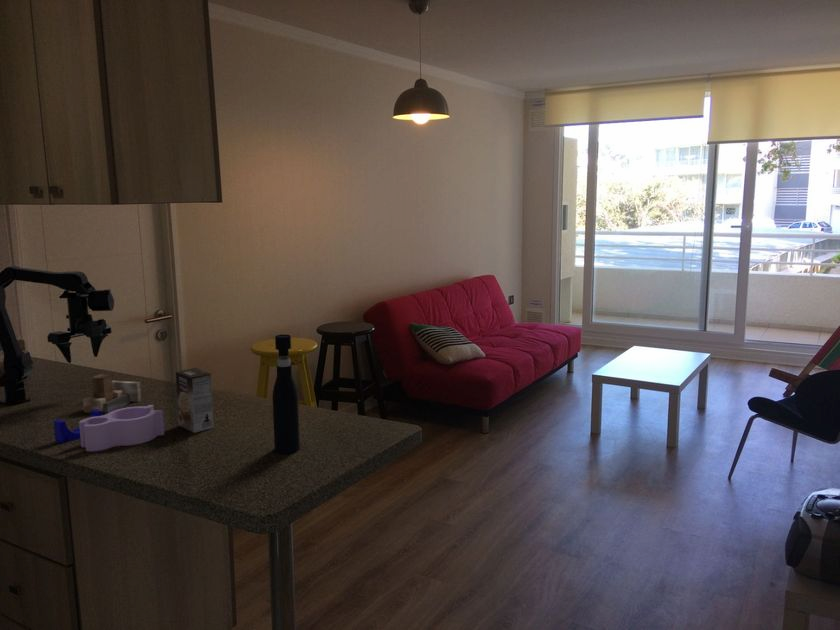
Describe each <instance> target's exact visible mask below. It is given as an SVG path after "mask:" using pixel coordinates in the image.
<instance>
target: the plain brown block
mask: <svg viewBox="0 0 840 630" xmlns="http://www.w3.org/2000/svg"><path fill="white" fill-rule="evenodd" d="M112 381H113V376H112V374H103V373H102V374H101V373H100V374H97V375H95V376H92V377H91V385H92V397H94V398H106V402H108V401H110V400H112V399H114V397H113V385H112Z"/></svg>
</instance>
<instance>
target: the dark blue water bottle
mask: <svg viewBox="0 0 840 630" xmlns="http://www.w3.org/2000/svg"><path fill="white" fill-rule="evenodd" d="M274 341H275V342H274V343H275V346H274V347H275V350H277V351H278V358H277V360H276V362H277V364H276V378H275V382H274V385H273V389H272V390H273V391H272V396H271V397H272V413H273V414H272V416H273V417H272V418H273V440H274V451H275V452H276V453H277V454H283V455H286V454H293V453H296V452H298V451H299V450H300V447H301V446H300V445H301V443H300V421H299V420H300V419H299V394H298V390H297V386H296V382H295V380H294V377H293V372H292V371H293V369H292V364H291V358H290V357H289V356H290V354H289V353H290V352H289V350H291V349H292V337H291V335H290V334H277V335H275V336H274Z"/></svg>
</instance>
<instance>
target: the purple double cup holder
mask: <svg viewBox="0 0 840 630" xmlns="http://www.w3.org/2000/svg"><path fill="white" fill-rule="evenodd" d="M164 419H165V418H164V410H162V409H158V410H157V409H156V410H155V409H154V404H149V405H146V406H145V405H143V406H141V405H139V406H128V407H121V408H119V409H117V410H114V411H112V412H110V413H108V414H102V416H95V417H90V416H89V417H86V418H83V419H81V420H80V421H79V422H78V427H79V428H80V439H79V440H80V447H81V448H85V451H86V452H99V451H104V450H108V449H110V448H113V447H120V446H121V447H123V446H135V445H139V444H140V445H141V444H143V443H144V444H145V443H147V442H150V441H152V440H154V439H155V438H156V437H158V436H164V435H166V434H165V420H164Z"/></svg>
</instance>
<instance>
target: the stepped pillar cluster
mask: <svg viewBox="0 0 840 630" xmlns="http://www.w3.org/2000/svg"><path fill="white" fill-rule="evenodd" d="M112 385H113V397H114V399H112V400H110V401H108V402H106V398H94V397H93V396H92V397H91V396H87V397H85V398H83V399H82V407H83V412H84V413H89V414H91V410H95V409H97V410H100V411H102V414H103V415H106V414H108V413H110V412H112V411H114V410H118V409H122V408H124V407H125V406H126V405H129V404H131V402H138V403H139V402H140V401H142V392H141V382H140V381H124V380H112Z"/></svg>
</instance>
